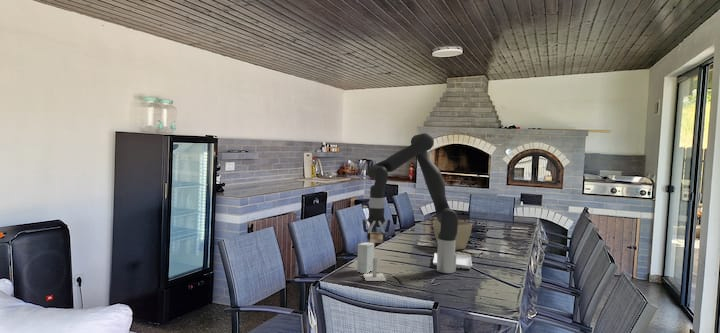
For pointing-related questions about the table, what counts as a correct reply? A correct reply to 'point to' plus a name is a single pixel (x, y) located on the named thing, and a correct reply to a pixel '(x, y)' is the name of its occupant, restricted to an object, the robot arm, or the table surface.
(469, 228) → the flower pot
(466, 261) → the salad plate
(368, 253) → the skincare box
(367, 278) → the post
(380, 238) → the ring
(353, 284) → the table surface
